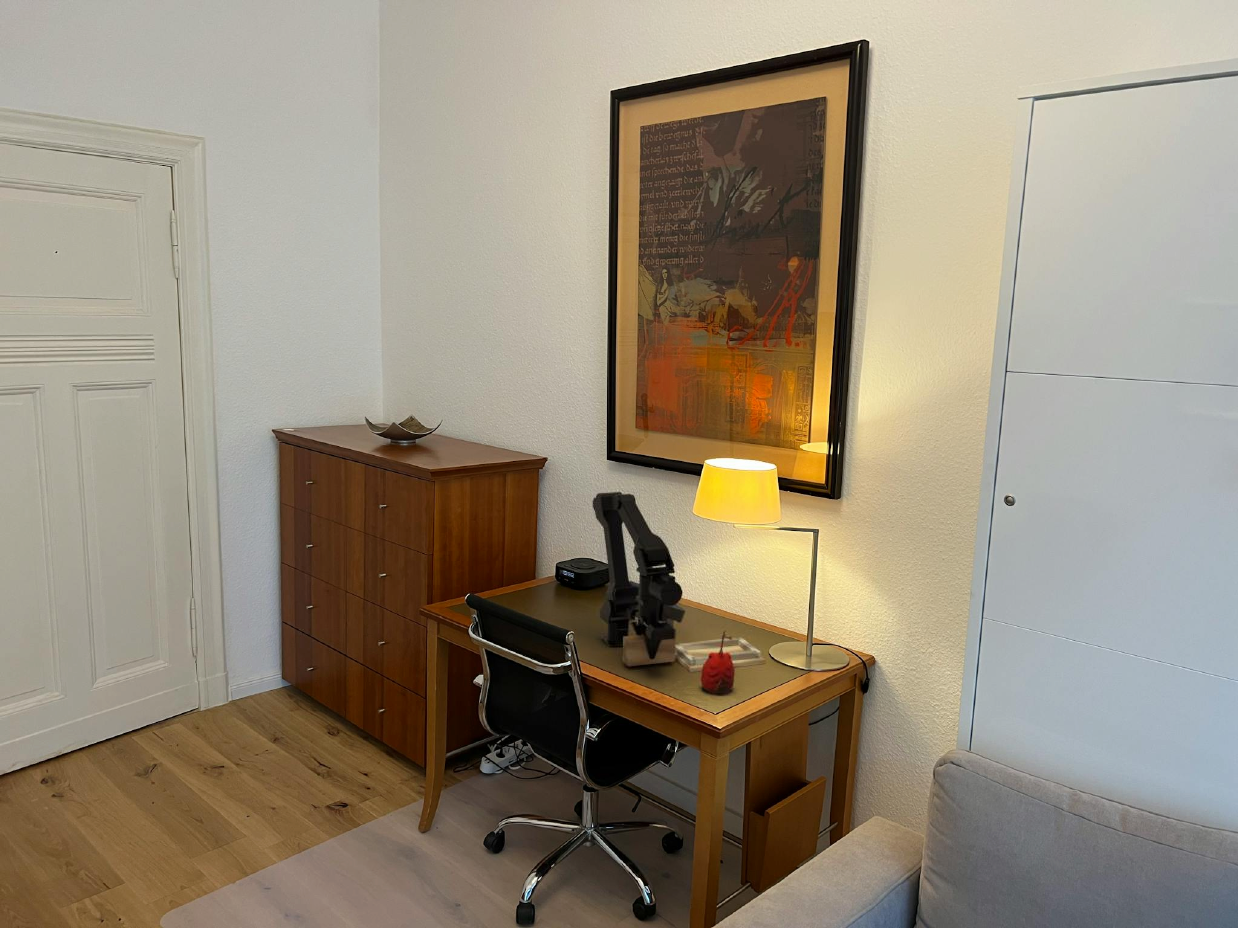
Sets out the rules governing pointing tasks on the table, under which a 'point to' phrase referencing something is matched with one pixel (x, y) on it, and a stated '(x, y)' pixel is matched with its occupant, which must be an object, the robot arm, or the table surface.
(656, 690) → the table surface
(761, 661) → the tray
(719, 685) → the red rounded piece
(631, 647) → the brown slab
